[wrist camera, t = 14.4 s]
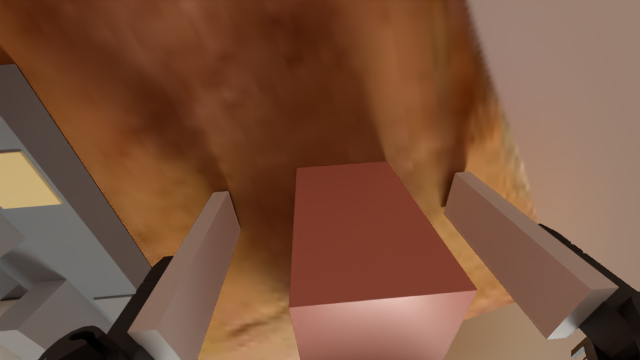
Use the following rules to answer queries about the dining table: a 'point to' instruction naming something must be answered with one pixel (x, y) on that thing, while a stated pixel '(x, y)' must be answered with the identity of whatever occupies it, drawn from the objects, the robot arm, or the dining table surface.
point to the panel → (54, 232)
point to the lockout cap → (370, 269)
